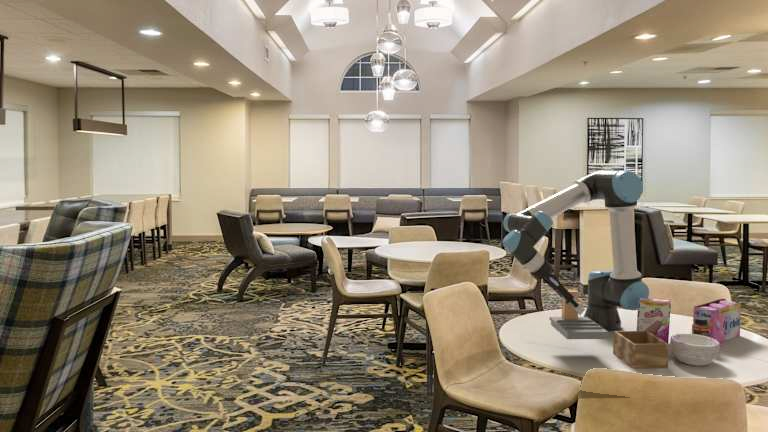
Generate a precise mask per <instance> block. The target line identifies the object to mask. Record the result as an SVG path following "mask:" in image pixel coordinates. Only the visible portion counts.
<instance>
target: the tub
mask: <svg viewBox="0 0 768 432" xmlns="http://www.w3.org/2000/svg"><path fill="white" fill-rule="evenodd" d="M612 345H613V346H612V354H613V355H615V356H616V357H617V358H619V359H620V360H621V361H623V363H625V364H627V365H628V366H629V367H630V368H632V369H666V368H667V369H668V367H669V354H670V353H669V351H670V343H669V342H668V343H666V342H665V341H663V340H661V339H660V338H658V337H656V336H655V335H653V334H651V333H650V332H648V331H637V330H620V331H619V330H613V342H612Z"/></svg>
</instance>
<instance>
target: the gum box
mask: <svg viewBox="0 0 768 432" xmlns="http://www.w3.org/2000/svg"><path fill="white" fill-rule="evenodd" d="M741 303H742V302H741V301H737V302H735V301H730V300H726V298H719V299H716V300H712V301H709V302H705V303H702V304H699V305H695V306H693V317H692V318H693V319H692V324H693V323H695V318H696V317H702V318H707V324H708V325H709V326H710V338H713V339H715V340H717V341H718V342H719V343H720V344H721V343H723V342H726V341H729V340H731V339H735V338H737V337H740V336H741V305H742V304H741Z"/></svg>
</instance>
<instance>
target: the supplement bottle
mask: <svg viewBox="0 0 768 432" xmlns="http://www.w3.org/2000/svg"><path fill="white" fill-rule="evenodd" d="M691 334H697V335H702V336H706V337H710V326H709V325H708V324H707V318H702V317H696V318H695V323H693V322H692V324H691Z"/></svg>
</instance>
